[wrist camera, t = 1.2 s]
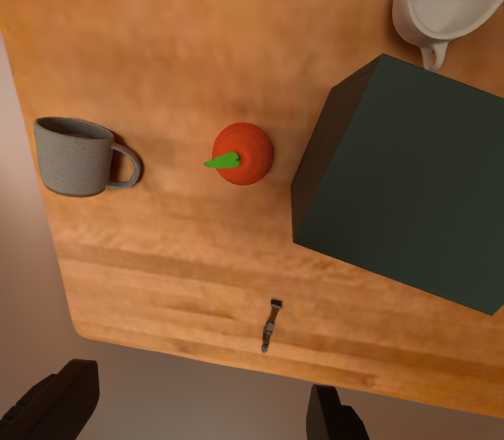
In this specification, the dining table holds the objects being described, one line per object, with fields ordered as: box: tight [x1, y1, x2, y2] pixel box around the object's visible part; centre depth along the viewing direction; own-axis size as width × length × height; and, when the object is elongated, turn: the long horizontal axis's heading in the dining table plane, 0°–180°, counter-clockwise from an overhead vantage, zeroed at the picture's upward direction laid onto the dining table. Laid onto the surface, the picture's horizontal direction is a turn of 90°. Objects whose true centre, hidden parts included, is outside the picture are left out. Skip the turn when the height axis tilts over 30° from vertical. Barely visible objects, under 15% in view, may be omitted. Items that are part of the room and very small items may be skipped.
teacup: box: [392, 0, 503, 73], centre depth 21 cm, size 10×8×5 cm
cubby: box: [291, 54, 504, 316], centre depth 22 cm, size 15×12×16 cm
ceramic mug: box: [33, 117, 141, 198], centre depth 30 cm, size 11×8×8 cm
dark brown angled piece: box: [261, 300, 282, 353], centre depth 40 cm, size 2×8×4 cm, turn 167°
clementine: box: [204, 122, 273, 185], centre depth 28 cm, size 8×7×7 cm
